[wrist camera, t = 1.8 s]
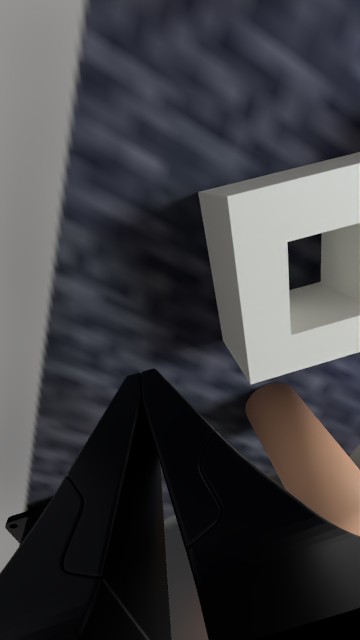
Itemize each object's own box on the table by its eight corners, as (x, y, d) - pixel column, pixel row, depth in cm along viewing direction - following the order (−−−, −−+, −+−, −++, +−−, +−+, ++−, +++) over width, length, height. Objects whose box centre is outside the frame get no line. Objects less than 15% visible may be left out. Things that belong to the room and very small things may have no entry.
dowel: (295, 415, 20) (388, 539, 13) (248, 430, 20) (316, 564, 13) (294, 375, 19) (399, 494, 12) (242, 391, 18) (317, 522, 11)
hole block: (351, 304, 17) (411, 336, 13) (223, 340, 16) (250, 384, 13) (363, 151, 13) (450, 140, 10) (198, 192, 13) (226, 196, 9)
